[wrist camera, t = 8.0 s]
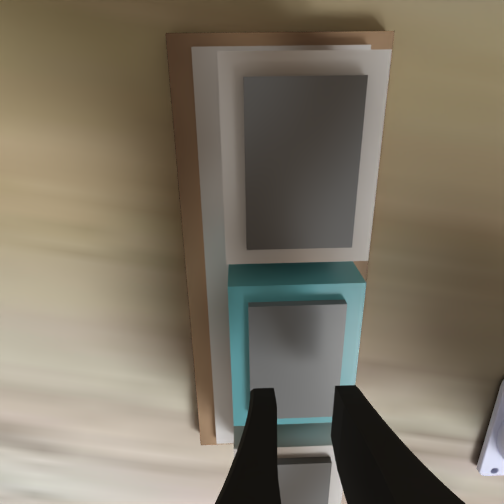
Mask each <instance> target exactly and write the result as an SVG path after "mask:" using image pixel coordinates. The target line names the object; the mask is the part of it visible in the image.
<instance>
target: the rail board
mask: <svg viewBox="0 0 504 504" xmlns="http://www.w3.org/2000/svg"><path fill="white" fill-rule="evenodd" d="M393 40H394V31H345V32H247V33H166V43H167V55H168V67H169V78H170V90H171V102H172V114H173V125H174V137H175V149H176V160H177V172H178V184H179V196H180V207H181V219H182V231H183V242H184V254H185V266H186V278H187V289H188V301H189V313H190V324H191V336H192V348H193V359H194V371H195V383H196V395H197V406H198V418H199V430H200V441H201V445H217V444H234V457H235V455H236V452H237V449H238V446H239V443H240V440H241V436H242V433H243V430H244V426H234V422H233V399H232V376H231V353H230V330H229V308H228V267H229V264H263V263H303V262H342V261H353V262H354V264H355V266H356V267H357V269H358V270H359V272H360V274H361V275H362V277H363V278H364V280H365V281H366V280H367V271H368V262H369V253H370V244H371V236H372V227H373V218H374V209H375V200H376V191H377V182H378V173H379V164H380V156H381V147H382V138H383V129H384V120H385V111H386V102H387V93H388V85H389V76H390V67H391V58H392V49H393ZM331 426H332V422H330V423H303V424H277V466H278V481H279V489H280V497H281V504H341V499H342V490H343V488H342V484H341V481H340V478H339V474H338V471H337V466H336V461H335V456H334V451H333V446H332V440H331Z"/></svg>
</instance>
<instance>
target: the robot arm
mask: <svg viewBox="0 0 504 504" xmlns="http://www.w3.org/2000/svg"><path fill="white" fill-rule="evenodd" d="M331 440H332V446H333V451H334V456H335V461H336V466H337V471H338V474H339V478H340V481H341V484H342V488H343V491H344V494H345V498H346V501H347V504H465V503H464V502H463V501H462V500H461V499H460V498H458V497H457V496H456V495H455V494H454V493H453V492H452V491H451V490H450V489H449V488H447V487H446V486H445V485H444V484H443V483H442V482H441V481H440V480H439V479H438V478H437V477H436V476H435V475H434V474H433V473H432V472H431V471H430V470H429V469H428V468H427V467H426V466H425V465H424V464H423V463H422V462H421V461H420V460H419V459H418V458H417V457H416V456H415V455H414V454H413V453H412V452H411V451H410V450H409V449H408V447H407V446H406V445H405V444H404V443H403V442H402V441H401V440H400V439H399V437H398V436H397V435H396V434H395V433H394V432H393V431H392V429H391V428H390V427H389V426H388V425H387V424H386V422H385V421H384V420H383V419H382V418H381V416H380V415H379V414H378V413H377V411H376V410H375V409H374V408H373V407H372V405H371V404H370V403H369V401H368V400H367V399H366V398H365V396H364V395H363V394H362V392H361V391H360V390H359V388H358V387H357V386H356V385H341V386H335V392H334V403H333V415H332V426H331ZM477 470H478V472H479V473H480V474H481V475H483V476H493V475H504V380H503V381H502V383H501V386H500V389H499V393H498V396H497V399H496V403H495V406H494V410H493V413H492V416H491V420H490V423H489V427H488V430H487V433H486V437H485V440H484V444H483V447H482V450H481V454H480V457H479V461H478V464H477ZM215 504H281V497H280V489H279V481H278V466H277V403H276V397H275V391H274V388H254V389H253V390H251V391H250V402H249V409H248V414H247V418H246V423H245V426H244V430H243V433H242V436H241V440H240V443H239V446H238V449H237V452H236V455H235V457H234V460H233V463H232V465H231V468H230V471H229V473H228V476H227V478H226V480H225V483H224V485H223V487H222V490H221V492H220V494H219V496H218V498H217V500H216V502H215Z"/></svg>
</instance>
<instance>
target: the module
mask: <svg viewBox="0 0 504 504" xmlns="http://www.w3.org/2000/svg"><path fill="white" fill-rule="evenodd" d="M365 290H366V281H365V280H364V278H363V277H362V275H361V274H360V272H359V270H358V269H357V267H356V266H355V264H354V262H353V261H342V262H303V263H263V264H229V267H228V308H229V330H230V353H231V376H232V399H233V422H234V426H245V423H246V418H247V414H248V409H249V402H250V391H251V390H253V389H254V388H274V391H275V397H276V403H277V424H303V423H330V422H332V415H333V403H334V392H335V386H341V385H355V381H356V372H357V363H358V354H359V345H360V336H361V327H362V318H363V309H364V300H365Z"/></svg>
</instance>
